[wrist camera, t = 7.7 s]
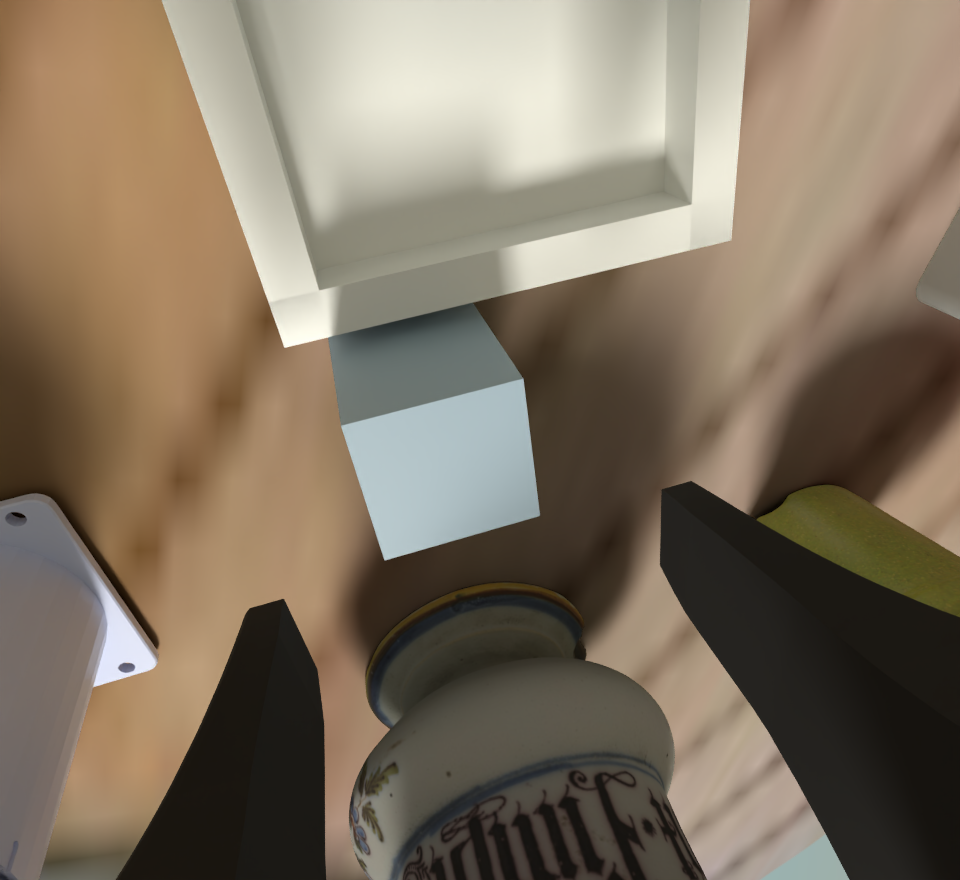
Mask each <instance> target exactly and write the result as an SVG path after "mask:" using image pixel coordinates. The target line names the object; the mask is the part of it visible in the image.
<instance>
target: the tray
mask: <svg viewBox="0 0 960 880" xmlns="http://www.w3.org/2000/svg"><path fill="white" fill-rule="evenodd" d="M162 3H163V6H164V8H165V11H166V14H167V17H168V20H169V23H170V25H171V28H172V31H173V34H174V37H175V39H176V42H177V45H178V48H179V51H180V54H181V56H182V59H183V62H184V65H185V68H186V71H187V73H188V76H189V79H190V82H191V85H192V87H193V90H194V93H195V96H196V99H197V102H198V104H199V107H200V110H201V113H202V116H203V119H204V121H205V124H206V127H207V130H208V133H209V135H210V138H211V141H212V144H213V147H214V150H215V152H216V155H217V158H218V161H219V164H220V167H221V169H222V172H223V175H224V178H225V181H226V183H227V186H228V189H229V192H230V195H231V198H232V200H233V203H234V206H235V209H236V212H237V215H238V217H239V220H240V223H241V226H242V229H243V231H244V234H245V237H246V240H247V243H248V246H249V248H250V251H251V254H252V257H253V260H254V263H255V265H256V268H257V271H258V274H259V277H260V279H261V282H262V285H263V288H264V291H265V294H266V296H267V299H268V302H269V305H270V308H271V311H272V313H273V316H274V319H275V322H276V325H277V327H278V330H279V333H280V336H281V339H282V342H283V344H284V347H285V348H286V347H290V346H294V345H298V344H302V343H306V342H311V341H315V340H319V339H323V338H327V337H331V336H336V335H340V334H344V333H348V332H352V331H356V330H361V329H365V328H369V327H373V326H377V325H381V324H386V323H390V322H394V321H398V320H402V319H406V318H410V317H415V316H419V315H423V314H427V313H431V312H435V311H440V310H444V309H448V308H452V307H456V306H460V305H465V304H469V303H473V302H477V301H481V300H485V299H490V298H494V297H498V296H502V295H506V294H510V293H514V292H519V291H523V290H527V289H531V288H535V287H539V286H544V285H548V284H552V283H556V282H560V281H564V280H569V279H573V278H577V277H581V276H585V275H589V274H594V273H598V272H602V271H606V270H610V269H614V268H618V267H623V266H627V265H631V264H635V263H639V262H643V261H648V260H652V259H656V258H660V257H664V256H668V255H673V254H677V253H681V252H685V251H689V250H693V249H698V248H702V247H706V246H710V245H714V244H718V243H722V242H727V241H731V236H732V224H733V211H734V198H735V186H736V173H737V160H738V148H739V135H740V122H741V110H742V97H743V84H744V72H745V59H746V46H747V34H748V21H749V8H750V0H162Z"/></svg>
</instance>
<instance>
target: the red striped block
mask: <svg viewBox="0 0 960 880" xmlns="http://www.w3.org/2000/svg"><path fill="white" fill-rule="evenodd" d="M916 297H917V298H918V300H919V301H920V302H922V303H924V304H926V305H929V306H931V307H933V308H935V309H937V310H940V311H942V312H944V313H946V314H948V315H951V316H953V317H955V318H957V319H960V208H959V210H958V212H957V214H956V215H955V217H954V219H953V221H952V223H951V224H950V226H949V228H948V230H947V232H946V233H945V235H944V237H943V239H942V241H941V242H940V244H939V246H938V248H937V250H936V251H935V253H934V255H933V257H932V259H931V260H930V262H929V264H928V266H927V268H926V269H925V271H924V273H923V275H922V277H921V278H920V280H919V283H918V285H917V288H916Z"/></svg>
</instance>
